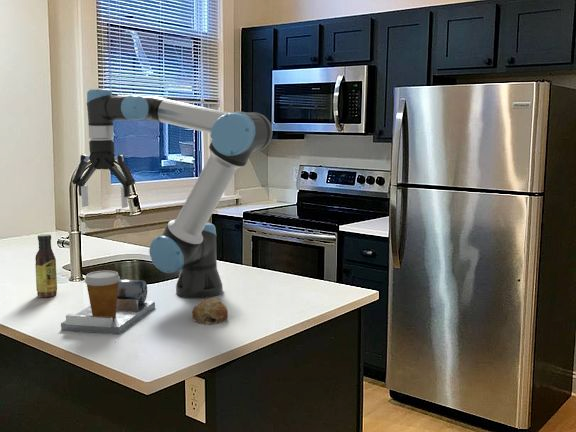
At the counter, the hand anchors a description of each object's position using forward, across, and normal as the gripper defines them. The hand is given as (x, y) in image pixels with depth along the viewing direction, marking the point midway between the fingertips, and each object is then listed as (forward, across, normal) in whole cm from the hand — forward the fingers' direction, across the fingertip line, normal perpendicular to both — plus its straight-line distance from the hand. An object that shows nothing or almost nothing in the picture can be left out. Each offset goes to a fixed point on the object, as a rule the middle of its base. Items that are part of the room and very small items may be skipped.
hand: (104, 206), depth 207 cm
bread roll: (+29, -40, +18) cm, 53 cm away
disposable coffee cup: (+27, -12, +27) cm, 40 cm away
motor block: (+29, -12, +23) cm, 39 cm away
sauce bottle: (+29, +19, +5) cm, 35 cm away
